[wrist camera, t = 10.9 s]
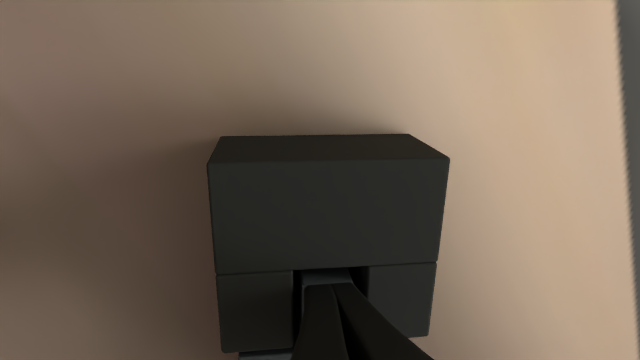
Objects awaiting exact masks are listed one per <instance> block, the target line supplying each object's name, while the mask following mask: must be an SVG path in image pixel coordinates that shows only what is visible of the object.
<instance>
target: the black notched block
mask: <svg viewBox="0 0 640 360" xmlns="http://www.w3.org/2000/svg"><path fill="white" fill-rule="evenodd" d="M449 164H450V158H449V157H447V156H446V155H444V154H442V153H441V152H439V151H437V150H435V149H434V148H432V147H430V146H429V145H427V144H425V143H423V142H422V141H420V140H418V139H417V138H415V137H413V136H411V135H410V134H368V135H296V136H224V137H220V139H219V141H218V143H217V145H216V147H215V149H214V151H213V153H212V155H211V157H210V159H209V161H208V163H207V177H208V189H209V202H210V214H211V227H212V239H213V251H214V264H215V273H216V287H217V299H218V312H219V324H220V336H221V349H222V352H223V353H234V352H246V351H258V350H269V349H281V348H291V347H293V344H294V316H293V270H306V269H323V268H339V267H347V268H348V271H349V273H350V276H351V279H352V281H353V284H354V285H355V286H356V287H357V288H358V290H359V291H360V292H361V293H362V294H363V295H364V296H365V297H366V298H367V299H368V300H369V301H370V302H371V303H372V304H373V305H374V307H375V308H376V309H377V310H378V311H379V312H380V313H381V314H382V315H383V316H384V317H385V318H386V319H387V320H388V321H390V322H391V323H392V324H393V325H394V326H395V327H396V328H397V329H398V330H399V331H400V332H401V333H402V334H403V335H404V336H406V337H407V338H410V337H422V336H427V335H428V332H429V324H430V316H431V308H432V300H433V292H434V284H435V276H436V267H437V263H436V261H437V260H438V253H439V245H440V237H441V229H442V221H443V213H444V205H445V197H446V188H447V180H448V172H449Z"/></svg>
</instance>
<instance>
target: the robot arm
mask: <svg viewBox="0 0 640 360" xmlns="http://www.w3.org/2000/svg"><path fill="white" fill-rule="evenodd" d="M290 360H434V359H432V358H431V357H430V356H429V355H427V354H426V353H425V352H423V351H422V350H421V349H420V348H419V347H417V346H416V345H415V344H414V343H413V342H411V341H410V340H409V339H408V338H407V337H406V336H404V335H403V334H402V333H401V332H400V331H399V330H398V329H397V328H396V327H395V326H394V325H393V324H392V323H391V322H390V321H388V320H387V319H386V318H385V317H384V316H383V315H382V314H381V313H380V312H379V311H378V310H377V309H376V308H375V307H374V305H373V304H372V303H371V302H370V301H369V300H368V299H367V298H366V297H365V296H364V295H363V294H362V293H361V292H360V291H359V290H358V288H357V287H356V286H355V285H354V284H353V283H352V282H346V283H332V284H316V285H308V286H307V287H306V288H305V289H304V312H303V318H302V322H301V326H300V330H299V334H298V338H297V341H296V344H295V347H294V350H293V353H292V356H291V359H290Z"/></svg>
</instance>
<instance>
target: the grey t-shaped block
mask: <svg viewBox="0 0 640 360" xmlns="http://www.w3.org/2000/svg"><path fill="white" fill-rule="evenodd" d="M346 282H352V283H353V281H352V279H351V276H350V273H349V271H348V268H347V267H339V268H323V269H306V270H295V292H293V316H294V344H293V347H291V348H281V349H269V350H258V351H246V352H239V357H238V360H290V359H291V356H292V353H293V350H294V347H295V344H296V341H297V338H298V334H299V330H300V326H301V322H302V318H303V312H304V289H305V288H306V287H307V286H308V285H316V284H332V283H346Z"/></svg>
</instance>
